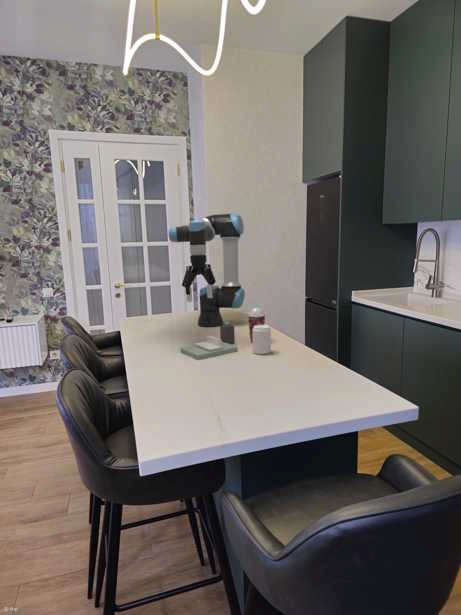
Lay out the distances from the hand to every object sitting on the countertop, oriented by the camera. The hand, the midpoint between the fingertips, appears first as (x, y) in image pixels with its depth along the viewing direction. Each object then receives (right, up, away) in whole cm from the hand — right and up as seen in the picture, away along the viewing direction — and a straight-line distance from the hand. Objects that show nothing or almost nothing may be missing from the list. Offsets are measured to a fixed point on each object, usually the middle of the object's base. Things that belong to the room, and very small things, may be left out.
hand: (200, 299), depth 190 cm
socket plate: (+5, -24, -5) cm, 25 cm away
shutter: (+5, -22, -5) cm, 23 cm away
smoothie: (+28, -21, +10) cm, 36 cm away
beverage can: (+29, -24, -9) cm, 38 cm away
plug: (+13, -21, +8) cm, 26 cm away
